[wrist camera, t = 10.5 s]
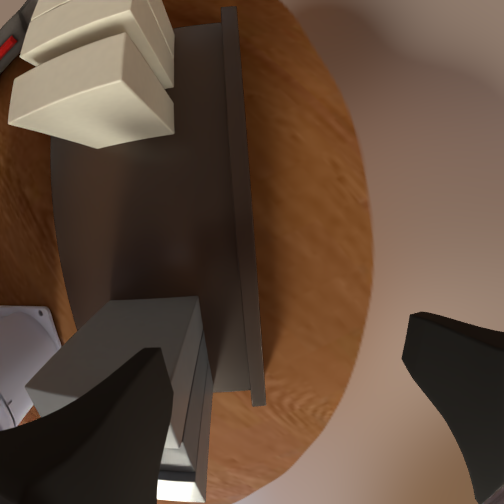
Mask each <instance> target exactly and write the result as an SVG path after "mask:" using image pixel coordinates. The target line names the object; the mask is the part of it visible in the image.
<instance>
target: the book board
mask: <svg viewBox="0 0 504 504" xmlns="http://www.w3.org/2000/svg"><path fill="white" fill-rule="evenodd" d="M173 32H174V35H175V41H174V87H173V88H167V89H165V91H166V92H167V94H168V95H169V97H170V98H171V100H172V101H173V103H174V131H175V133H174V134H171V135H165V136H158V137H152V138H147V139H141V140H136V141H131V142H126V143H121V144H116V145H112V146H107V147H103V148H99V149H96V148H93V147H90V146H86V145H83V144H80V143H76V142H73V141H69V140H66V139H62V138H59V137H55V136H51V188H52V202H53V213H54V222H55V230H56V238H57V244H58V250H59V256H60V262H61V267H62V272H63V277H64V282H65V286H66V290H67V295H68V299H69V303H70V306H71V310H72V314H73V317H74V321H75V324H76V328H77V331H78V330H79V329H80V328H81V327H82V326H83V325H84V324H85V323H86V322H87V321H88V320H90V319H91V318H92V317H93V316H94V315H95V314H96V313H97V312H98V311H99V310H100V309H101V308H102V307H103V306H104V305H105V304H106V303H108V302H109V301H110V300H134V299H154V298H172V297H188V296H198V297H199V303H200V310H201V317H202V323H203V330H204V336H205V342H206V348H207V353H208V360H209V365H210V370H211V376H212V381H213V392H232V391H245V390H251V400H252V406H253V407H255V406H264V405H266V394H265V379H264V365H263V350H262V336H261V321H260V307H259V293H258V279H257V265H256V252H255V238H254V224H253V211H252V197H251V184H250V171H249V158H248V144H247V131H246V118H245V106H244V93H243V80H242V67H241V55H240V42H239V30H238V18H237V7H236V6H231V7H221V23H211V24H202V25H194V26H186V27H180V28H174V29H173Z"/></svg>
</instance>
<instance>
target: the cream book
mask: <svg viewBox="0 0 504 504" xmlns="http://www.w3.org/2000/svg"><path fill="white" fill-rule="evenodd" d="M8 124H9V125H13V126H17V127H21V128H25V129H29V130H33V131H36V132H40V133H44V134H48V135H51V136H55V137H59V138H62V139H66V140H69V141H73V142H76V143H80V144H83V145H86V146H90V147H93V148H96V149H99V148H103V147H107V146H112V145H116V144H121V143H126V142H131V141H136V140H141V139H147V138H152V137H158V136H165V135H171V134H174V133H175V131H174V103H173V101H172V100H171V98H170V97H169V95H168V94H167V92H166V91H165V89H164V88H163V86H162V85H161V83H160V82H159V80H158V79H157V77H156V76H155V74H154V73H153V71H152V70H151V68H150V67H149V65H148V64H147V62H146V61H145V60H144V58H143V57H142V55H141V54H140V52H139V51H138V49H137V48H136V46H135V45H134V43H133V42H132V40H131V39H130V37H129V36H128V34H127V33H126V32H124V33H120V34H117V35H114V36H110V37H107V38H104V39H101V40H98V41H95V42H92V43H90V44H87V45H84V46H82V47H79V48H77V49H74V50H72V51H69V52H67V53H64V54H62V55H60V56H58V57H55V58H53V59H51V60H49V61H47V62H45V63H43V64H41V65H39V66H37V67H35V68H33V69H31V70H29V71H27V72H26V73H24V74H22V75H20V76H18V77H17V78H15V79H14V83H13V89H12V95H11V101H10V108H9V117H8Z"/></svg>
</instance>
